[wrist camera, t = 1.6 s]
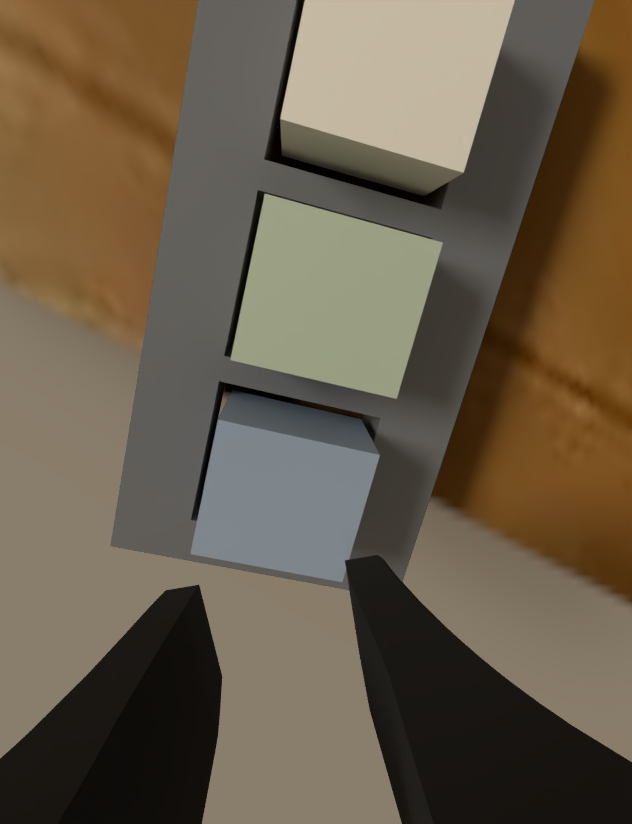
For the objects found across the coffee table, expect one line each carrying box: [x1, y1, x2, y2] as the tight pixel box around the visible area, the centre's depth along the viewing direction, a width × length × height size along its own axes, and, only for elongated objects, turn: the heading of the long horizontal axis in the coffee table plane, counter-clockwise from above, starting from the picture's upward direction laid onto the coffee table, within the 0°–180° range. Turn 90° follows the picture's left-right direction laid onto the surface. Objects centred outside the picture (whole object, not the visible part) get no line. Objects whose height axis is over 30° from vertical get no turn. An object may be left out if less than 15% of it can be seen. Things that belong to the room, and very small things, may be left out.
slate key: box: [190, 390, 380, 582], centre depth 15 cm, size 4×4×4 cm
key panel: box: [111, 0, 594, 590], centre depth 16 cm, size 10×19×3 cm, turn 166°
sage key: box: [230, 194, 443, 399], centre depth 14 cm, size 4×4×4 cm
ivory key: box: [280, 0, 515, 196], centre depth 13 cm, size 4×4×4 cm
